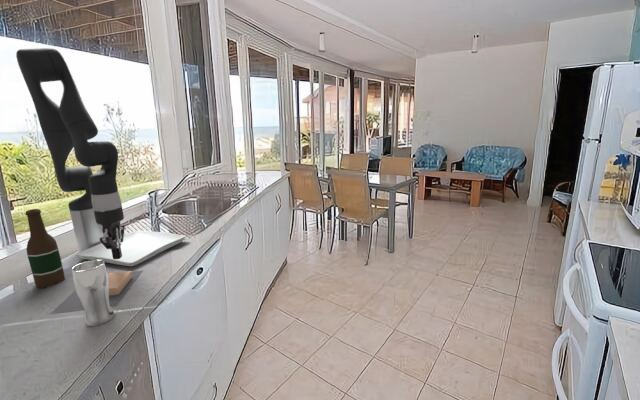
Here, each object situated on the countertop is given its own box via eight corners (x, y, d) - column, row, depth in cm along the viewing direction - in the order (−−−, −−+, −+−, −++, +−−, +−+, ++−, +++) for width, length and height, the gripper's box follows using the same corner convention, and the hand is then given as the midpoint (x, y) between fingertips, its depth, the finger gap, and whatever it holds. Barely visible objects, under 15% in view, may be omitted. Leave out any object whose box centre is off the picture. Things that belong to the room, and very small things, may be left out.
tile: (100, 273, 102) (82, 291, 92) (131, 270, 104) (117, 287, 93) (101, 281, 103) (84, 299, 92) (132, 277, 104) (119, 295, 94)
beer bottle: (29, 290, 99) (8, 214, 94) (43, 279, 107) (24, 208, 101) (59, 286, 101) (41, 212, 96) (70, 275, 109) (54, 205, 103)
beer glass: (110, 308, 88) (99, 256, 85) (120, 317, 84) (109, 263, 80) (79, 321, 83) (66, 266, 79) (88, 331, 79) (75, 274, 75)
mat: (90, 277, 107) (90, 275, 107) (143, 271, 110) (143, 270, 109) (50, 315, 86) (49, 313, 86) (116, 307, 89) (116, 305, 88)
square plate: (75, 263, 119) (73, 253, 118) (138, 237, 144) (136, 229, 143) (132, 272, 110) (130, 261, 109) (188, 243, 135) (187, 234, 134)
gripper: (104, 202, 107) (114, 251, 112) (83, 213, 95) (95, 268, 99) (128, 200, 108) (137, 249, 113) (111, 211, 96) (122, 266, 100)
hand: (117, 258), depth 106 cm, fingers closed
